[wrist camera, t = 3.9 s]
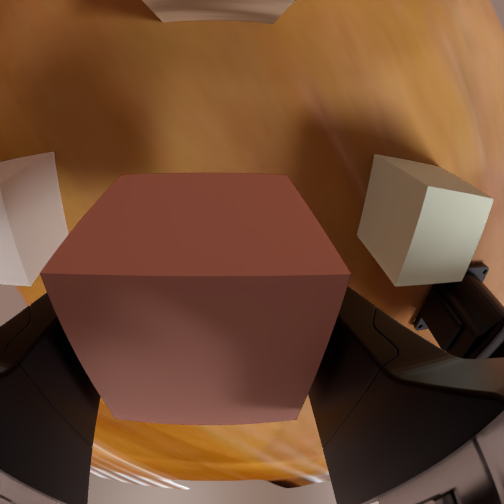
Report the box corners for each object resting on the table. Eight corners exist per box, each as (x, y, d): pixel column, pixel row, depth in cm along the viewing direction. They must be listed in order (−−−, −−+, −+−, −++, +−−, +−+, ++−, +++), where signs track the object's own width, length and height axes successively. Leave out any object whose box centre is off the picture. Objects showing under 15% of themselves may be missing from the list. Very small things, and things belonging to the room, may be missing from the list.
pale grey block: (54, 151, 12) (-1, 183, 8) (69, 234, 15) (30, 286, 11) (-6, 162, 12) (-59, 196, 7) (11, 235, 14) (-29, 281, 10)
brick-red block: (286, 174, 9) (351, 273, 4) (270, 302, 11) (296, 419, 7) (121, 175, 8) (39, 273, 4) (141, 302, 11) (115, 418, 6)
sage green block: (438, 166, 15) (493, 199, 11) (418, 236, 17) (461, 281, 13) (373, 153, 14) (427, 185, 10) (356, 234, 17) (395, 286, 13)
